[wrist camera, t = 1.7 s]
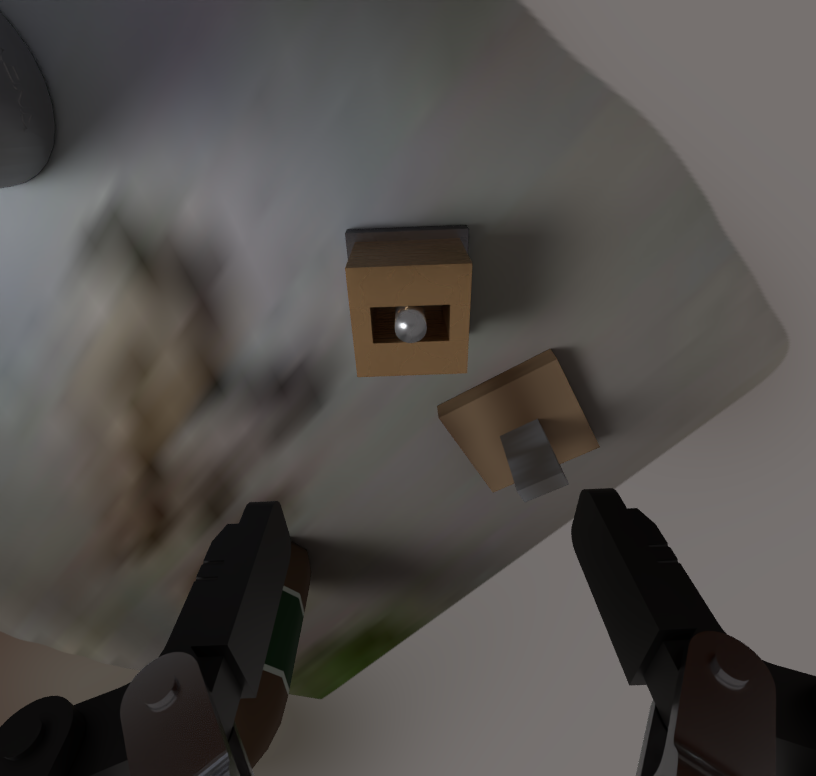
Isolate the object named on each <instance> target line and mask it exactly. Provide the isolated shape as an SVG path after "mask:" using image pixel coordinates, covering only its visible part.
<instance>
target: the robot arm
mask: <svg viewBox="0 0 816 776" xmlns="http://www.w3.org/2000/svg"><path fill="white" fill-rule="evenodd" d="M54 132H55V122H54V115H53V107H52V102H51V99H50V96H49V93H48V89H47V86H46V83H45V80H44V78H43V76H42V74H41V72H40V70H39V68H38V66H37V64H36V62H35V60H34V58H33V55H32V54H31V52H30V51H29V49H28V48H27V46H26V45H25V43H24V42H23V40H22V39H21V37H20V36H19V34H18V33H17V31H16V30H15V29H14V28H13V26H12V25H11V24H10V23H9V22H8V21H7V20H6V18H5V17H4V16H3V15H2V14H1V13H0V188H5V187H11V186H14V185H18V184H21V183H25V182H27V181H28V180H30V179H31V178H33V177H34V176H36V175H37V174H39V172H40V171H41V170H42V168H43V167H44V166H45V164H46V163H47V162H48V159H49V156H50V154H51V151H52V148H53V145H54ZM571 535H572V542H573V547H574V550H575V553H576V555H577V558H578V560H579V563H580V565H581V567H582V570H583V572H584V575H585V577H586V580H587V582H588V584H589V587H590V589H591V592H592V595H593V597H594V599H595V602H596V604H597V607H598V609H599V612H600V614H601V617H602V619H603V622H604V624H605V626H606V629H607V631H608V634H609V636H610V639H611V641H612V644H613V646H614V649H615V651H616V653H617V656H618V658H619V661H620V663H621V666H622V668H623V670H624V673H625V676H626V678H627V681H628V683H629V685H647V686H648V688H649V691H650V693H651V695H652V698H653V701H652V704H651V707H650V712H649V717H648V721H647V726H646V731H645V735H644V740H643V745H642V750H641V754H640V759H639V764H638V768H637V773H636V776H816V676H813V675H809V674H806V673H802V672H798V671H795V670H792V669H788V668H784V667H781V666H777V665H774V664H771V663H768V662H766V661H763V660H761V658H760V657H759V656H758V655H757V654H756V653H755V652H754V651H752V650H751V649H750V648H749V647H748V646H746V645H745V644H743V643H742V642H741V641H739V640H737V639H735V638H734V637H732V636H729V635H727V634H726V633H725V632H724V631H723V629H722V628H721V626H720V625H719V624H718V622H717V621H716V619H715V617H714V616H713V614H712V613H711V611H710V609H709V608H708V606H707V605H706V603H705V602H704V600H703V598H702V597H701V595H700V594H699V592H698V590H697V589H696V587H695V586H694V584H693V583H692V581H691V579H690V578H689V576H688V575H687V573H686V572H685V570H684V569H683V567H682V565H681V564H680V563H678V561H677V557H676V556H675V554H674V553H673V551H672V549H671V548H670V547H668V544H667V542H666V540H665V538H664V537H663V535H662V534H661V532H660V531H659V529H658V528H657V526H656V524H655V523H654V522H652V521H651V520H650V519H649V518H648V517H647V516H645V515H644V514H643V513H642V512H641V511H640V510H639V509H637V508H631V509H627V508H626V506H625V504H624V503H623V501H622V499H621V497H620V496H619V494H618V493H617V492H616V490H614V489H613V488H605V489H584V490H582V491H581V493H580V496H579V500H578V504H577V508H576V512H575V516H574V520H573V524H572V529H571ZM290 556H291V539H290V535H289V531H288V528H287V525H286V521H285V518H284V515H283V511H282V508H281V505H280V503H279V502H278V501H270V502H250V503H248V504H247V506H246V507H245V510H244V512H243V515H242V517H241V520H240V522H239V524H227V525H226V526H225V527H224V529H223V530H222V531H221V532H220V533H219V534H218V535H217V536H216V538H215V539H214V540H213V541H212V543H211V545H210V547H209V549H208V552H207V554H206V556H205V558H204V563H203V565H201V568H200V570H199V572H198V574H197V577H196V581H195V582H194V583H193V586H192V588H191V590H190V592H189V595H188V597H187V599H186V601H185V604H184V606H183V608H182V610H181V613H180V615H179V617H178V619H177V622H176V624H175V626H174V629H173V631H172V633H171V635H170V638H169V640H168V642H167V644H166V646H165V648H164V650H163V651H162V653H161V654H160V656H159V657H158V658H157V659H155V660H153V661H152V662H150V663H149V664H147V665H146V666H145V667H144V668H143V669H142V670H141V671H140V672H139V673H138V674H137V675H136V676H135V677H134V679H133V680H132V682H130V683H128V684H127V685H125V686H122V687H120V688H118V689H115V690H113V691H110V692H107V693H105V694H102V695H99V696H97V697H95V698H91V699H89V700H86V701H84V702H81V703H78V704H76V705H72V704H71V703H70V702H69V701H68V700H67V699H65V698H63V697H60V696H49V697H44V698H42V699H38V700H36V701H34V702H32V703H30V704H29V705H27V706H25V707H24V708H22V709H20V710H19V711H18V712H16V713H15V714H14V715H12V716H11V717H10V718H9V719H8V720H7V721H6V722H5V723H4V724H3V725H2V726H1V727H0V776H254V774H253V771H252V768H251V765H250V762H249V760H248V757H247V754H246V751H245V749H244V746H243V743H242V740H241V738H240V735H239V732H238V729H237V727H236V724H235V721H234V719H235V716H236V712H237V708H238V705H239V701H240V699H241V698H256V696H257V692H258V688H259V683H260V679H261V675H262V671H263V667H264V663H265V659H266V655H267V651H268V647H269V643H270V639H271V635H272V631H273V627H274V623H275V619H276V615H277V611H278V607H279V603H280V599H281V594H282V590H283V586H284V582H285V578H286V574H287V570H288V566H289V562H290Z"/></svg>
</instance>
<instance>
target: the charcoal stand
mask: <svg viewBox="0 0 816 776" xmlns="http://www.w3.org/2000/svg"><path fill="white" fill-rule="evenodd" d="M345 237H346V246H347V255H348V259H349V256H350V254H351V251H352V248H353V246H354V243H355V242H372V241H399V240H426V239H453V238H460V240H461V242H462V244H463V246H464V248H465V250H466V252H467V254H468V238H469V228H468V227H467V225H455V226H428V227H401V228H374V229H347V231H346V233H345ZM424 306H436V305H423V306H395V333H396V335H397V337H398V338H399V339H400V340H402V341H403V342H406V343H415V342H418V341H420V340H421V339H422V338H423V337H424V336H425V334H426V331H427V325H426V317H425V309H424ZM377 308H381V307H377Z"/></svg>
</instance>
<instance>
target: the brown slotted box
mask: <svg viewBox="0 0 816 776" xmlns="http://www.w3.org/2000/svg"><path fill="white" fill-rule="evenodd" d="M345 271H346V280H347V289H348V298H349V306H350V315H351V324H352V333H353V342H354V351H355V359H356V368H357V377H373V376H401V375H429V374H457V373H467V361H468V341H469V321H470V301H471V282H472V262H471V260H470V258H469V256H468V254H467V252H466V250H465V248H464V246H463V244H462V242H461V240H460V238H453V239H426V240H399V241H372V242H355V243H354V246H353V248H352V251H351V254H350V256H349V259H348V262H347V264H346V267H345ZM423 305H436V306H424V309H425V317H426V325H427V331H426V334H425V336H424V337H423V338H422V339H421V340H420V341H418V342H415V343H406V342H403V341H402V340H400V339H399V338H398V337H397V335H396V333H395V306H423ZM377 307H381V308H377Z"/></svg>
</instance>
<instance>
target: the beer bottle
mask: <svg viewBox="0 0 816 776" xmlns="http://www.w3.org/2000/svg"><path fill="white" fill-rule="evenodd" d="M310 577H311V568H310V563H309V558H308V553H307V550H306V549H304V548H302V547H300V546H298V545H297V544H295V543H293V542H291V556H290V562H289V566H288V570H287V574H286V578H285V582H284V586H283V590H282V594H281V599H280V603H279V607H278V611H277V615H276V619H275V623H274V627H273V631H272V635H271V639H270V643H269V647H268V651H267V655H266V659H265V663H264V667H263V671H262V675H261V679H260V683H259V688H258V692H257V696H256V698H241V699H240V701H239V705H238V708H237V712H236V716H235V719H234V721H235V724H236V727H237V729H238V732H239V735H240V738H241V740H242V743H243V746H244V749H245V751H246V754H247V757H248V760H249V762H250V765H251V768H253V767H254V766H255V764H256V763H257V762H258V761H259V759H260V758H261V757H262V756H263V754H264V753H265V752H266V751H267V749H268V747H269V745H270V743H271V742H272V740H273V737H274V736H275V734H276V732H277V730H278V728H279V726H280V724H281V720H282V716H283V713H284V709H285V705H286V702H287V698H288V693H289V688H290V683H291V678H292V673H293V668H294V663H295V658H296V653H297V647H298V642H299V637H300V632H301V627H302V622H303V617H304V612H305V607H306V601H307V596H308V591H309V585H310Z"/></svg>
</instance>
